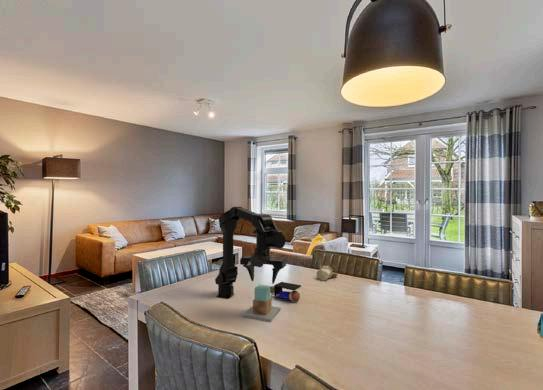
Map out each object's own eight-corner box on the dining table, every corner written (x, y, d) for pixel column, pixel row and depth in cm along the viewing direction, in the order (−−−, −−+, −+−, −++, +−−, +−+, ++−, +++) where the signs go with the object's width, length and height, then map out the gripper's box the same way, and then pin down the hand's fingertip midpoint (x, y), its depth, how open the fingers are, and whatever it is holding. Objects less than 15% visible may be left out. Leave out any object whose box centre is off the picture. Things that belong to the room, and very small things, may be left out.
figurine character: (268, 300, 137) (295, 304, 128) (267, 284, 137) (294, 287, 128) (276, 296, 142) (303, 300, 133) (275, 280, 143) (301, 283, 134)
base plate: (243, 316, 115) (243, 314, 115) (254, 305, 127) (254, 303, 126) (271, 321, 111) (271, 319, 111) (280, 309, 122) (280, 307, 122)
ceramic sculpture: (312, 264, 165) (322, 261, 177) (311, 279, 164) (322, 275, 177) (330, 267, 159) (339, 263, 171) (329, 283, 158) (338, 278, 171)
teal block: (254, 300, 117) (254, 288, 117) (259, 296, 122) (259, 284, 122) (265, 301, 116) (265, 289, 116) (270, 297, 120) (270, 285, 120)
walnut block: (252, 312, 117) (252, 300, 117) (258, 307, 123) (258, 295, 123) (266, 315, 115) (266, 302, 115) (271, 309, 121) (271, 297, 121)
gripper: (234, 246, 114) (233, 285, 114) (278, 250, 108) (277, 291, 108) (245, 242, 125) (245, 277, 125) (286, 245, 118) (286, 282, 118)
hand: (262, 282), depth 119 cm, fingers open, 9 cm apart
